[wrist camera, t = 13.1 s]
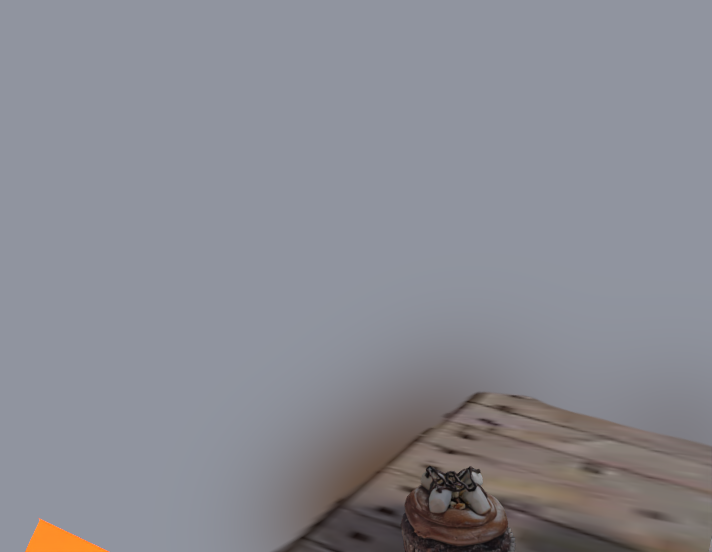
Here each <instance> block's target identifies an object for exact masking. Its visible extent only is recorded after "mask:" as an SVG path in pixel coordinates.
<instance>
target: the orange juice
mask: <svg viewBox="0 0 712 552" xmlns="http://www.w3.org/2000/svg"><path fill="white" fill-rule="evenodd" d="M25 552H108V551H106V550H104V549H102V548H100V547H98V546H96V545H94V544H92V543H89V542H87V541H85V540H83V539H81V538H79V537H77V536H75V535H73V534H71V533H68V532H66V531H64V530H62V529H60V528H58V527H56V526H54V525H52V524H50V523H47V522H45V521H43V520H41V519H40V521H39V523H38V526H37V528H36V530H35V532H34V534H33V536H32V538H31V540H30V543H29V545H28V547H27V549H26V551H25Z"/></svg>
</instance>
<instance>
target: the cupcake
mask: <svg viewBox="0 0 712 552" xmlns="http://www.w3.org/2000/svg"><path fill="white" fill-rule="evenodd" d="M480 473H481V472H480V469H477V470H476V469H474V468H472V467H471V466H470V467H469V468H466V469H463V470H462V471H460V472H459V473H458V474H456V472H455V471H449V472H447V473H443V472H441V471H439V470H436V469H435V468H433V467H431V466H429V467H428V468H427V469H426V472H425V473H424V474H423V475H422V478H421V484H422V485H420V486H418V487H417V488H416V489H414V490H413V491H412V492H411V493H410V494H409V495H408V497H407V498H406V502H405V514H404V516H403V519H402V522H401V527H402V535H403V542H404V548H405V552H514V549H515V547H514V546H515V542H514V541H515V538H514V537H513V533H512V532H510V530H511V529H510V528H508V521H507V516H506V513H505V511H504V508H503V507H502V505H501V504H500V503H499V501H498V500H497V499H496V498H494V497H493V496H491V495H490V494H488V493H487V492H485V491H484V489H483V488H482V487H481V485H482V483H483V479H482V475H481V474H480Z"/></svg>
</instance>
